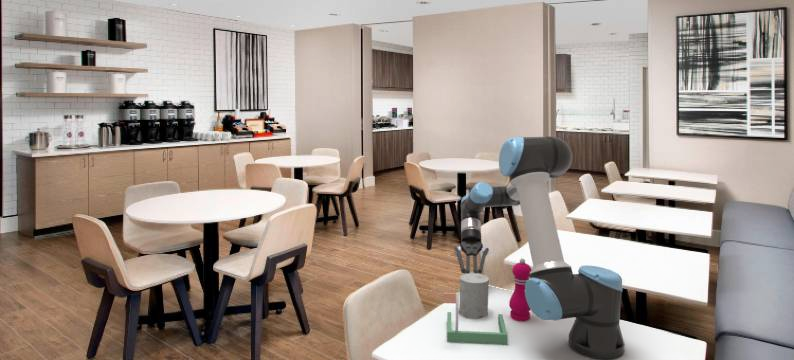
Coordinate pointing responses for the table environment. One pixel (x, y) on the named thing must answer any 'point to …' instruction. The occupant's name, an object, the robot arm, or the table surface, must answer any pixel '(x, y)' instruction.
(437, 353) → the table surface
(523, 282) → the pepper mill
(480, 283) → the concrete cylinder
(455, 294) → the putting stop
